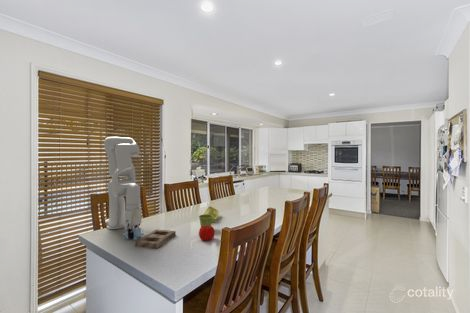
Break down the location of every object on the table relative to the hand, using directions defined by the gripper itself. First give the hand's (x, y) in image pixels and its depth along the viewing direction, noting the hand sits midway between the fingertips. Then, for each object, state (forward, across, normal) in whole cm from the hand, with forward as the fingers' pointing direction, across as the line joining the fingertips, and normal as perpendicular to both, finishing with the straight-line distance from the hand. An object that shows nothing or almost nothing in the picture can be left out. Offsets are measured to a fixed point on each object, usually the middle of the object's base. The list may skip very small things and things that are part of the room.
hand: (133, 237), depth 137 cm
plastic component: (+1, -47, +31) cm, 56 cm away
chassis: (+1, 0, +15) cm, 15 cm away
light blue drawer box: (+1, 0, 0) cm, 1 cm away
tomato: (+1, -8, +42) cm, 43 cm away
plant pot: (+1, -24, +36) cm, 43 cm away
